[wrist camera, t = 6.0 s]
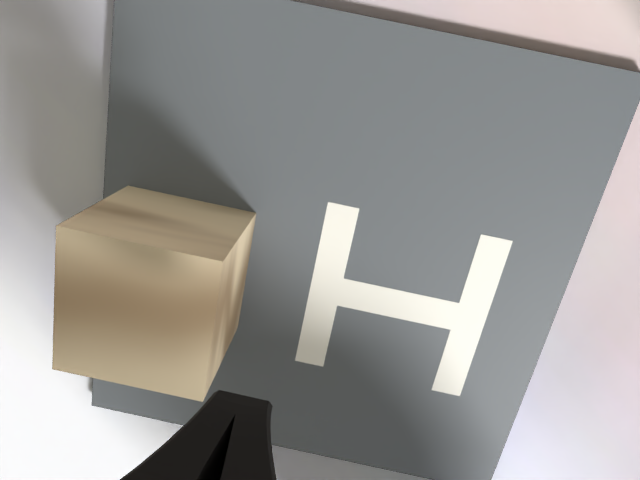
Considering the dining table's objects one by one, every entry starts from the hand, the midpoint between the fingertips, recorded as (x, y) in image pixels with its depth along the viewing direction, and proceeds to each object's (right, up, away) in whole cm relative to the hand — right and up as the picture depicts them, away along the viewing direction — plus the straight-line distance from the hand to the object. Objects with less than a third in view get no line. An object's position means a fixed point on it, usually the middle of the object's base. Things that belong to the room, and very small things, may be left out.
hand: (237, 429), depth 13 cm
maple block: (-3, +4, +8) cm, 10 cm away
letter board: (+2, +4, +8) cm, 10 cm away
